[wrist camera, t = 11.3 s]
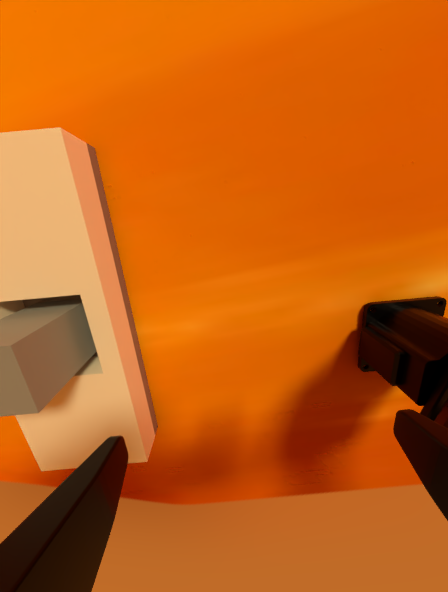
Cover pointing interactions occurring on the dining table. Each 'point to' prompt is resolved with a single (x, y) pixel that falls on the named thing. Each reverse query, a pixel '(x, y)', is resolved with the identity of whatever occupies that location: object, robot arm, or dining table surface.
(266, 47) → the dining table surface
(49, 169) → the cream socket panel
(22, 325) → the plug
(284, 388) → the dining table surface
